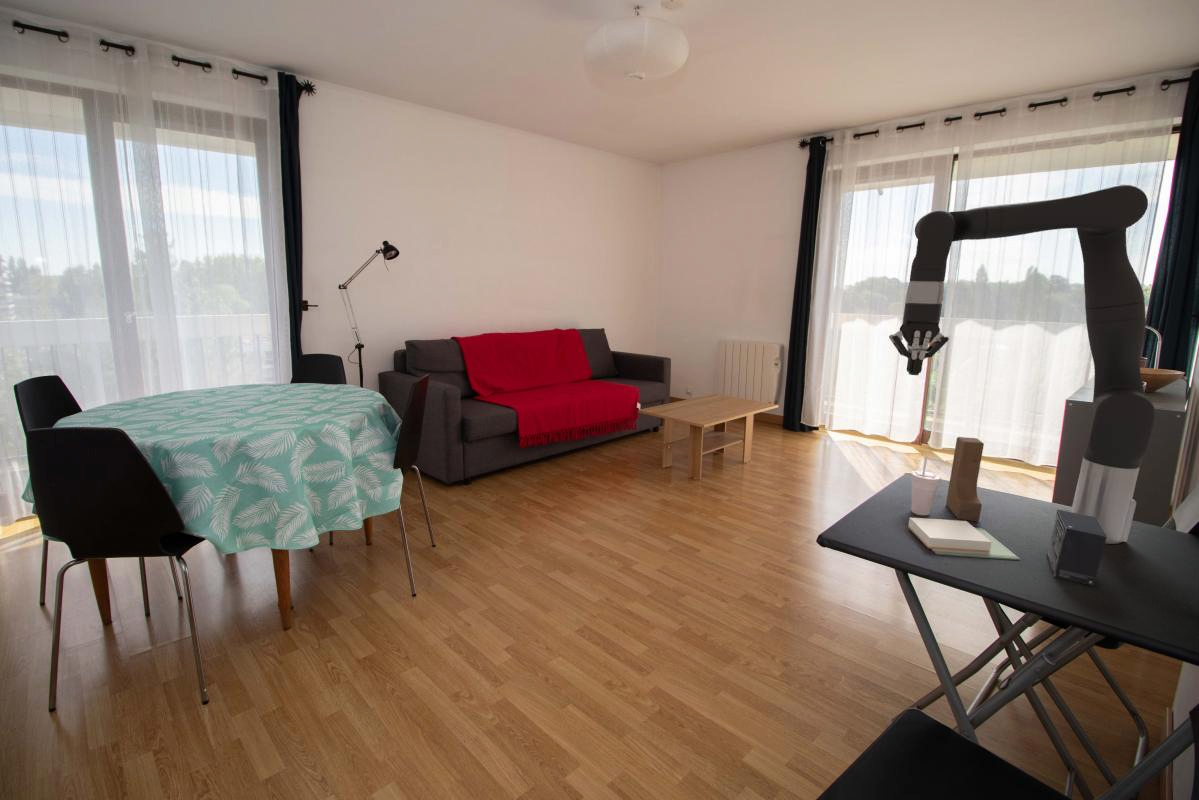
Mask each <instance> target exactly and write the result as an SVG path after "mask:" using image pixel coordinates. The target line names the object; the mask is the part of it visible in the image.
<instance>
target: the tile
mask: <svg viewBox="0 0 1199 800" xmlns="http://www.w3.org/2000/svg"><path fill="white" fill-rule="evenodd" d="M908 524H909V525H907V526H908V529H909V530H910V531H911V532H912V534H914V535H915V537H917V538H918V539H919V540H920V541H921V542H922V543H923V545H924V546H925V547H926V548H927V549H931V548H932V549H946V550H961V551H976V552H990V547H991V541H990V540H989V539H987V538H986V537H985V536H984V535H983V534H981V533H980V532H979V531H978V530H977V529H975V528H976V527H974V526H973V525H972V524H971V523H969V522H968V520H959V519H939V518H927V517H926V518H922V517H909V519H908ZM932 549H931V550H932Z"/></svg>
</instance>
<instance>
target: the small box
mask: <svg viewBox="0 0 1199 800" xmlns="http://www.w3.org/2000/svg"><path fill="white" fill-rule="evenodd" d="M1106 538H1107V536H1106V534H1105V532H1104V531H1103V529H1102V528H1101V526H1100V524H1099V522H1098V521H1097V519H1096V517H1092V516H1087V515H1082V514H1077V513H1073V512H1071V511H1067V510H1062V509H1056V515H1055V521H1054V525H1053V530H1052V535H1051V538H1050V542H1049V545H1048V549H1047V553H1046V558H1047V560H1048V561H1047V562H1048V564H1049V566H1050V570H1051V573H1052V576H1053V577H1054V578H1057V579H1061V580H1066V581H1070V582H1075V583H1078V584H1083V585H1086V586H1087V585H1088V586H1091V587H1095V583H1096V580H1097V576H1098V573H1099V568H1100V565H1101V560H1102V558H1103V552H1104V549H1105V545H1106V543H1105V542H1106Z"/></svg>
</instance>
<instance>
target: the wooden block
mask: <svg viewBox="0 0 1199 800" xmlns="http://www.w3.org/2000/svg"><path fill="white" fill-rule="evenodd" d="M984 445H985V444H984V443H983V442H982V440H980V439H978V438H975V437H963V436H958V437H956V442H955V448H954V453H953V459H952V465H951V471H950V478H949V484H948V488H947V490H948V491H947V496H946V502H945V505H946V506H947V508H948V509H949V510H950V511H951V513H952V514H953V515H954V516H955V517H956V518H957V520H960V521H972V522H979V521H980V517H981V511H982V506H983V504H982V502H981V501H980V499H979V497H978V481H979V475H980V468H981V463H982V458H983V450H984Z"/></svg>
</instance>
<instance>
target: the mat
mask: <svg viewBox="0 0 1199 800" xmlns="http://www.w3.org/2000/svg"><path fill="white" fill-rule="evenodd" d="M907 526H909V523H907ZM974 528H975V529H977V530H978V531H979V532H980V533H981V534H983V535H984V536H985V537H986V538H987V539H989V540H990V541H991V547H990V552H976V551H961V550H946V549H932V548H930V550H931V551H933V553H935V555H941V556H950V557H951V556H952V557H953V556H954V557H955V556H956V557H968V558H969V557H970V558H983V559H996V560H997V559H998V560H1014V561H1020V560H1021V558H1020V557H1019V556H1017V555H1016V554H1014V552H1012V551H1011V550H1009V548H1007V547H1006V546H1005V545H1003V544H1002V543H1001V542H1000V541H999V540H997V539H996V538H995V537H993V536H992V535H991V534H990V533H989V532H987V531H986V530H985V529H984V528H983V527H982V528H981V527H974Z"/></svg>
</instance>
